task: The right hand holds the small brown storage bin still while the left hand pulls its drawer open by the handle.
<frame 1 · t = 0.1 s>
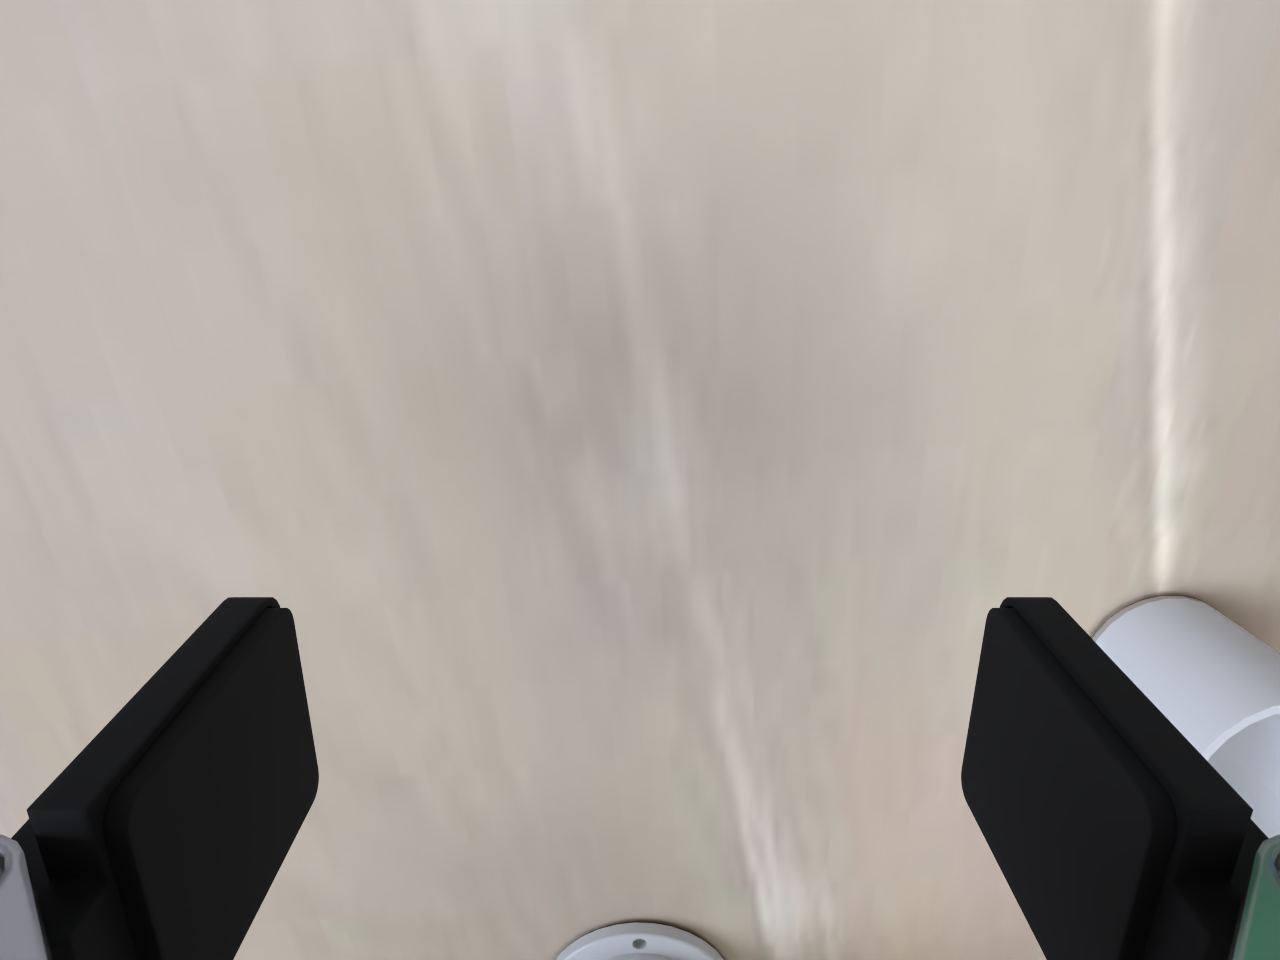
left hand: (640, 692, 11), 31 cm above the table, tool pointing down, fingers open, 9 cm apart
mug: (1138, 667, 48), on the table
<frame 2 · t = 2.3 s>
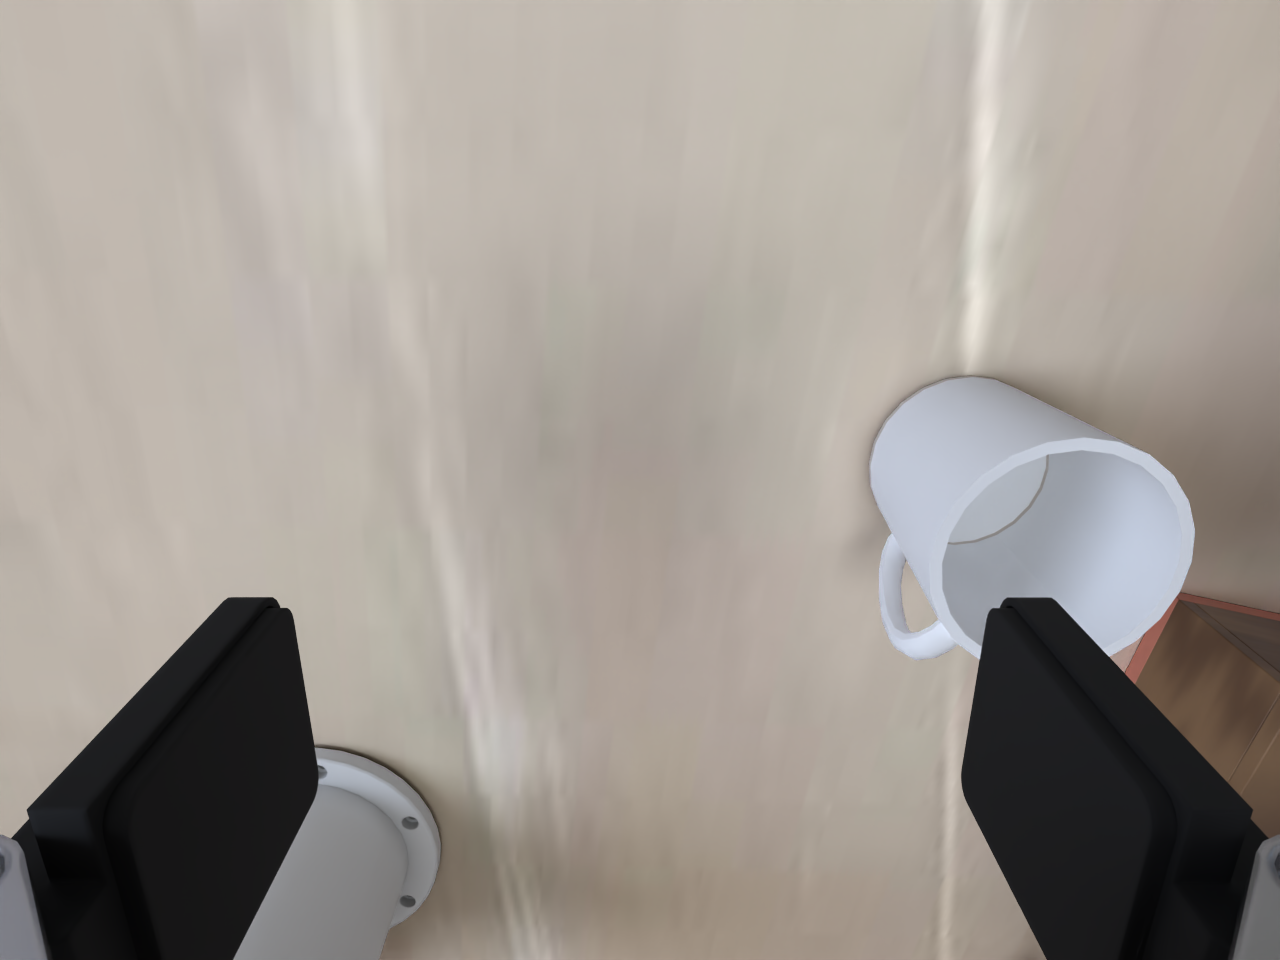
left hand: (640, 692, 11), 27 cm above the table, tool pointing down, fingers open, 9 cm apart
brown storage bin: (1190, 741, 44), on the table
mug: (936, 474, 39), on the table
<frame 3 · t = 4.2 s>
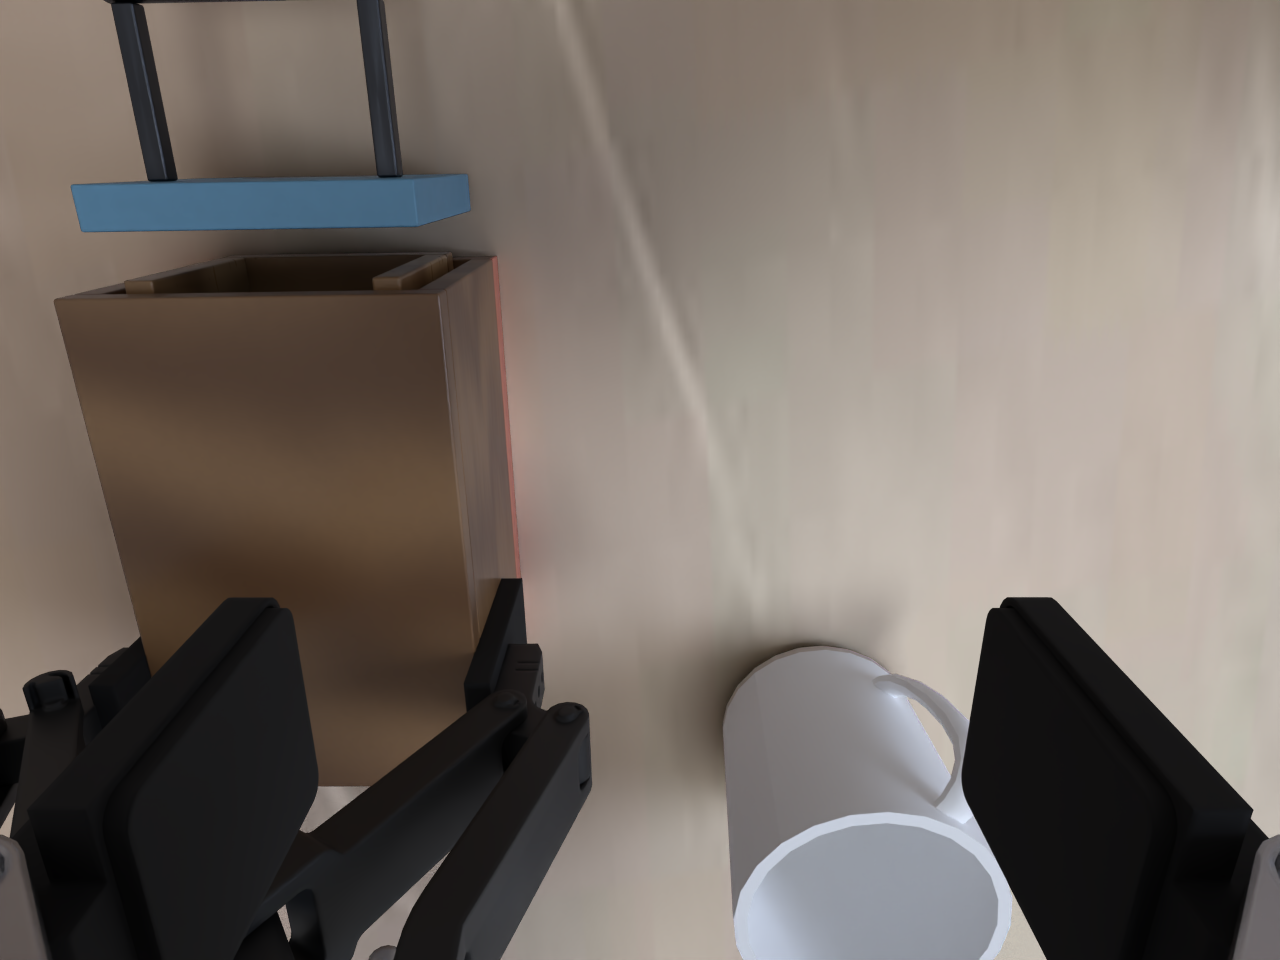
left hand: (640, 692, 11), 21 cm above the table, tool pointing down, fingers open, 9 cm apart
brown storage bin: (382, 467, 33), on the table, touching right hand
mug: (827, 702, 37), on the table
drawer: (316, 327, 27), point 4 cm above the table, slide at 1.6 cm
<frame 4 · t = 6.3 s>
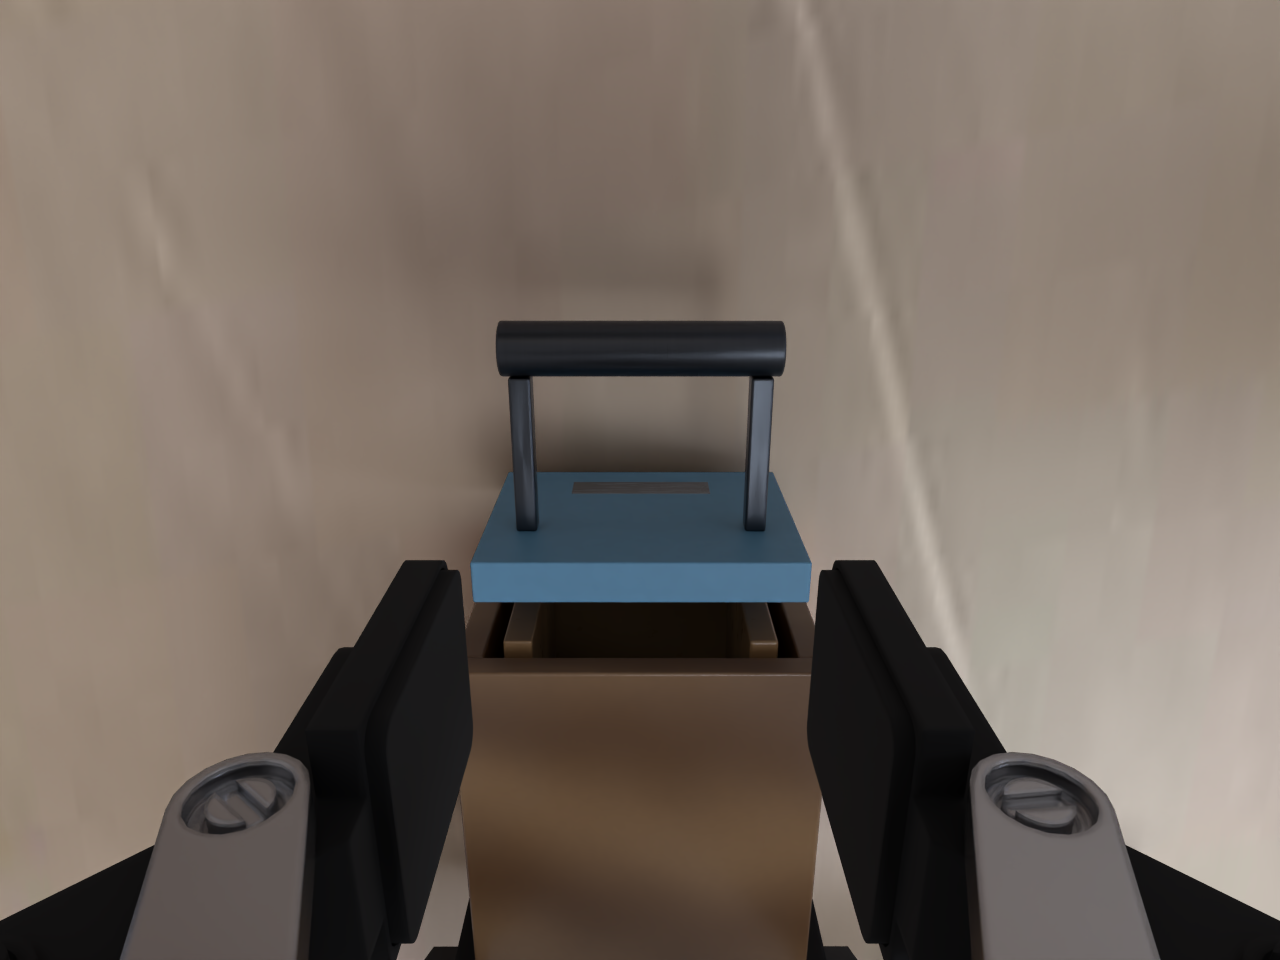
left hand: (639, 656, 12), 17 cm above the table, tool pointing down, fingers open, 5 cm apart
brown storage bin: (640, 719, 33), on the table, touching right hand
drawer: (640, 639, 27), point 4 cm above the table, slide at 1.6 cm
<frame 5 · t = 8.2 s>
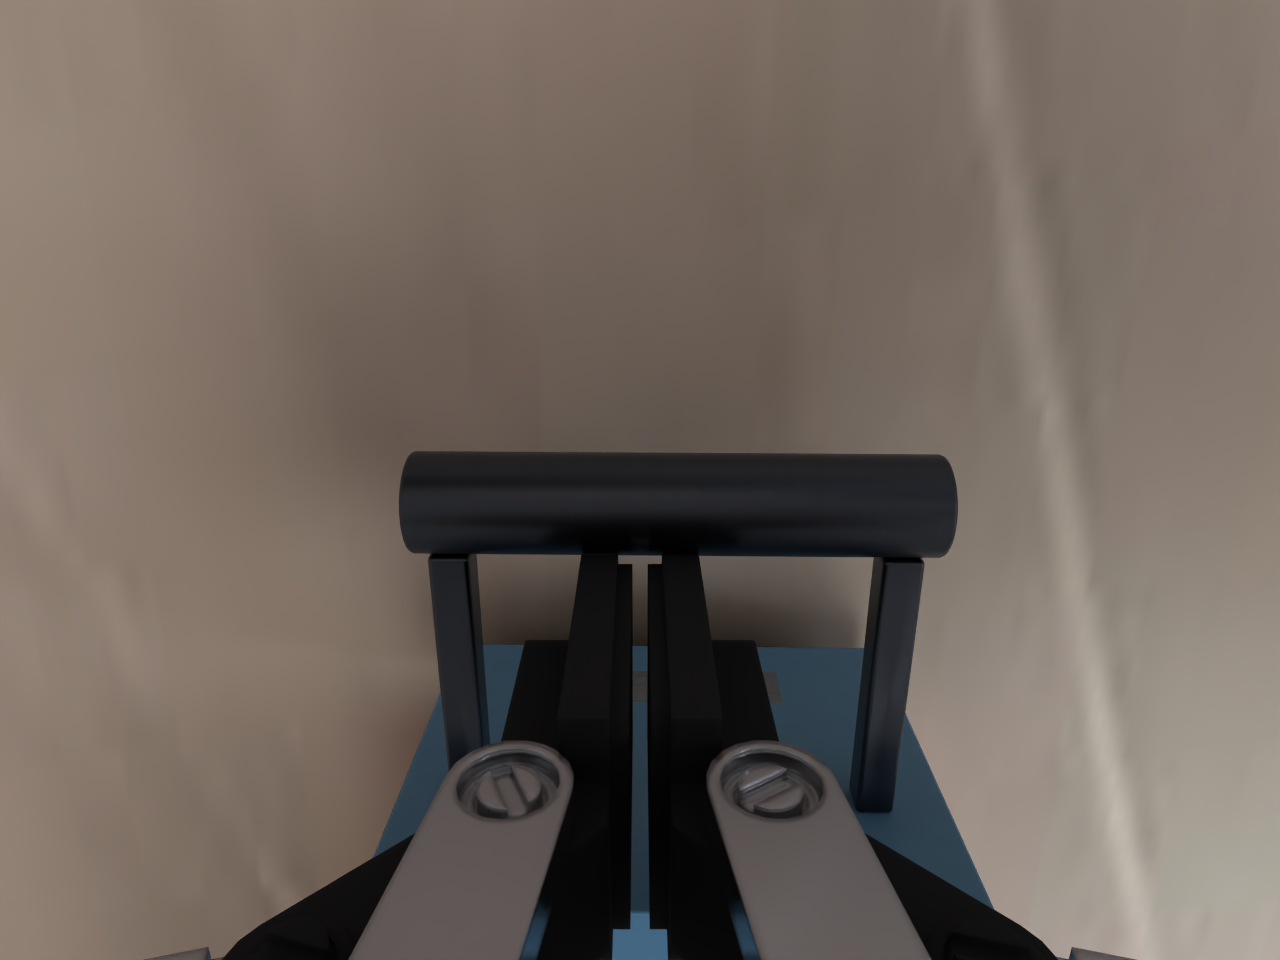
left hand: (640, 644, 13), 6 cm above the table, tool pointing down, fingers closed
drawer: (666, 937, 17), point 4 cm above the table, slide at 1.6 cm, touching left hand
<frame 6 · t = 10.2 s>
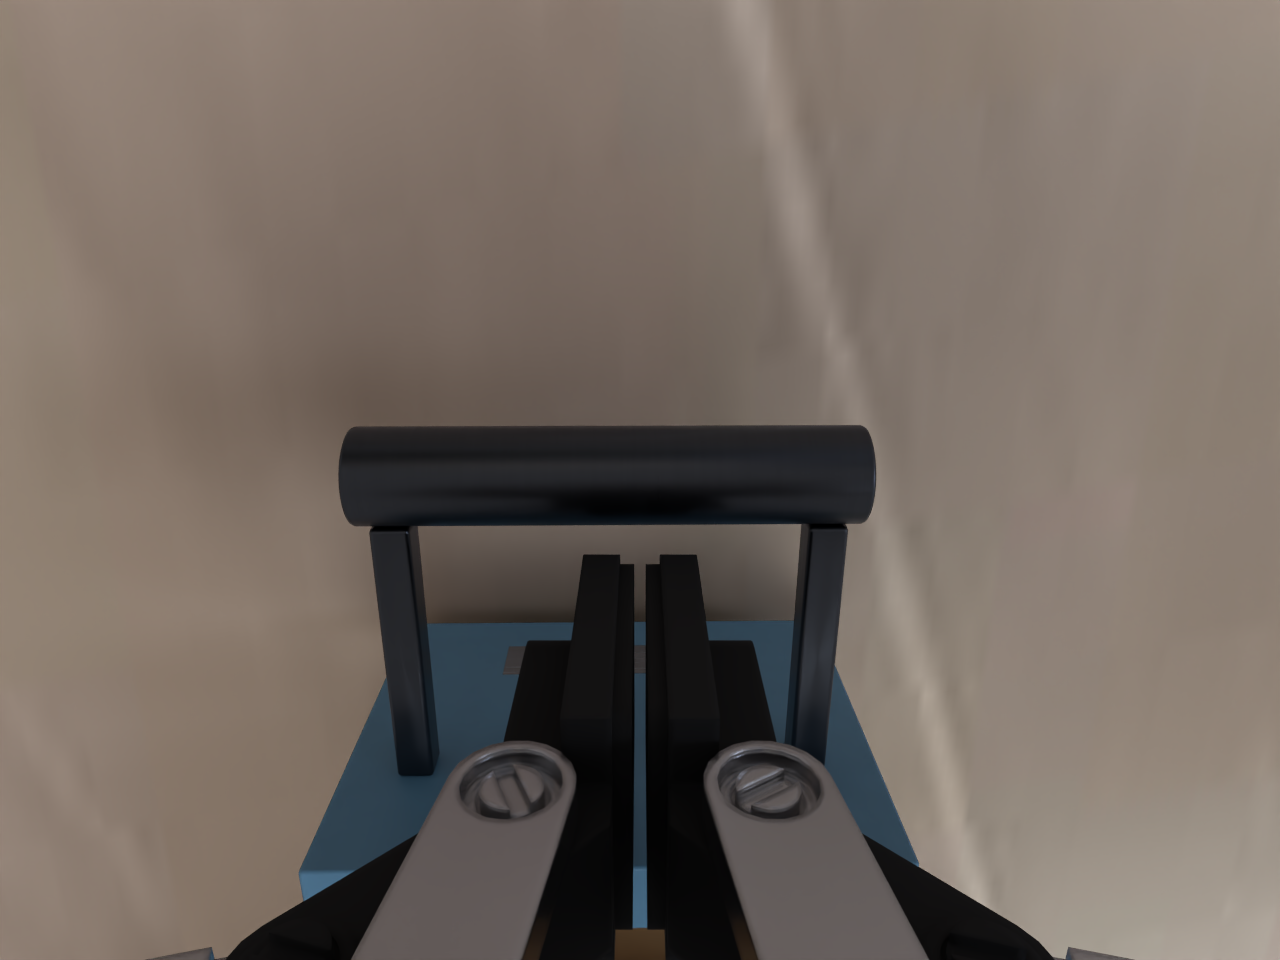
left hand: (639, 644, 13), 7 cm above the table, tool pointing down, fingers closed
drawer: (614, 902, 17), point 4 cm above the table, slide at 9.2 cm
when the right hand's fingers open (4 cm above the table, at t = 11.6 s): brown storage bin stays where it is, on the table.
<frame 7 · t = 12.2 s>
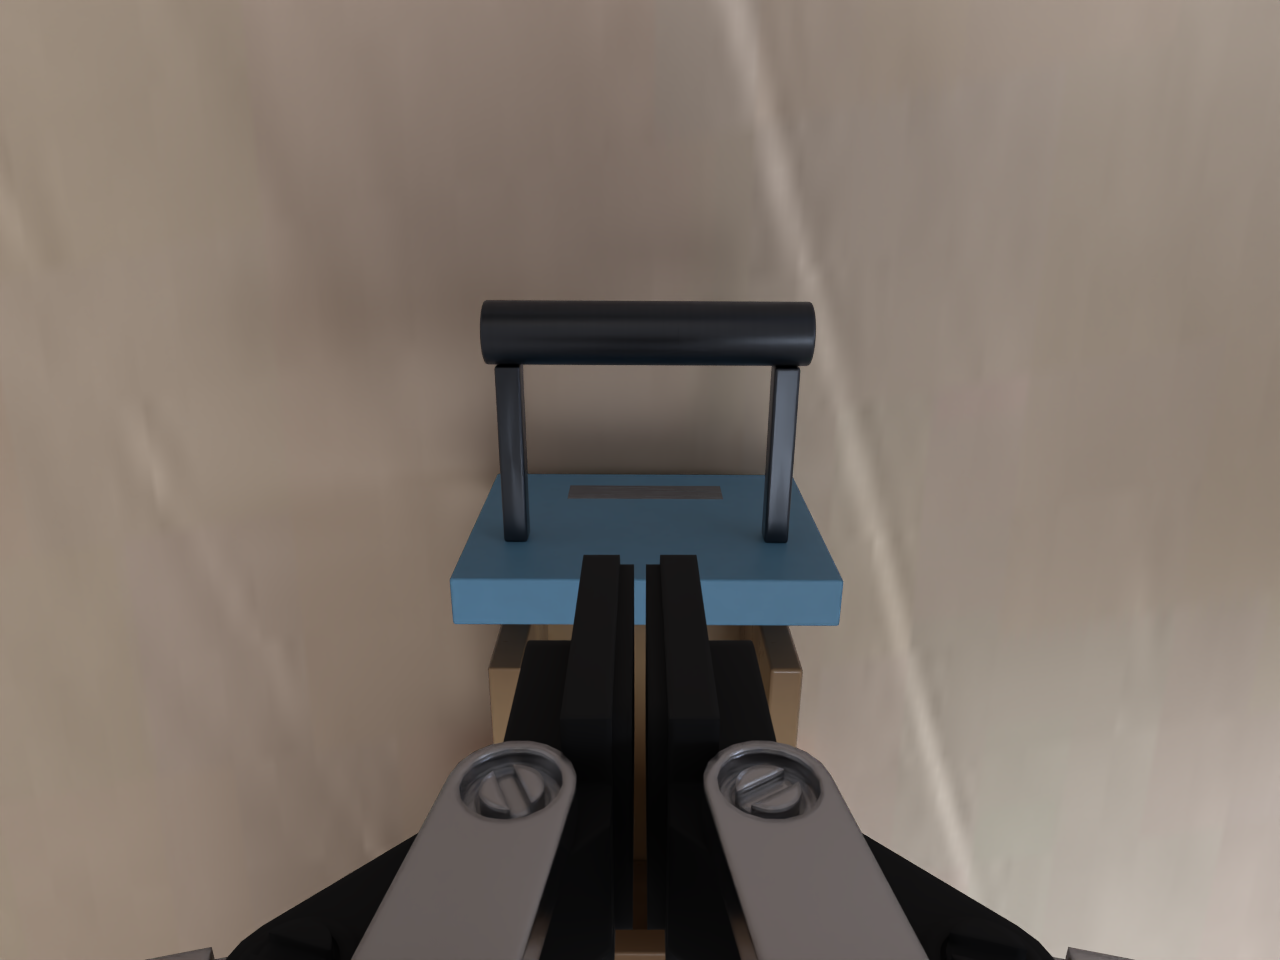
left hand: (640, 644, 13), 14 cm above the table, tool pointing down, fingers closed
brown storage bin: (641, 907, 33), on the table
drawer: (644, 662, 24), point 4 cm above the table, slide at 9.2 cm
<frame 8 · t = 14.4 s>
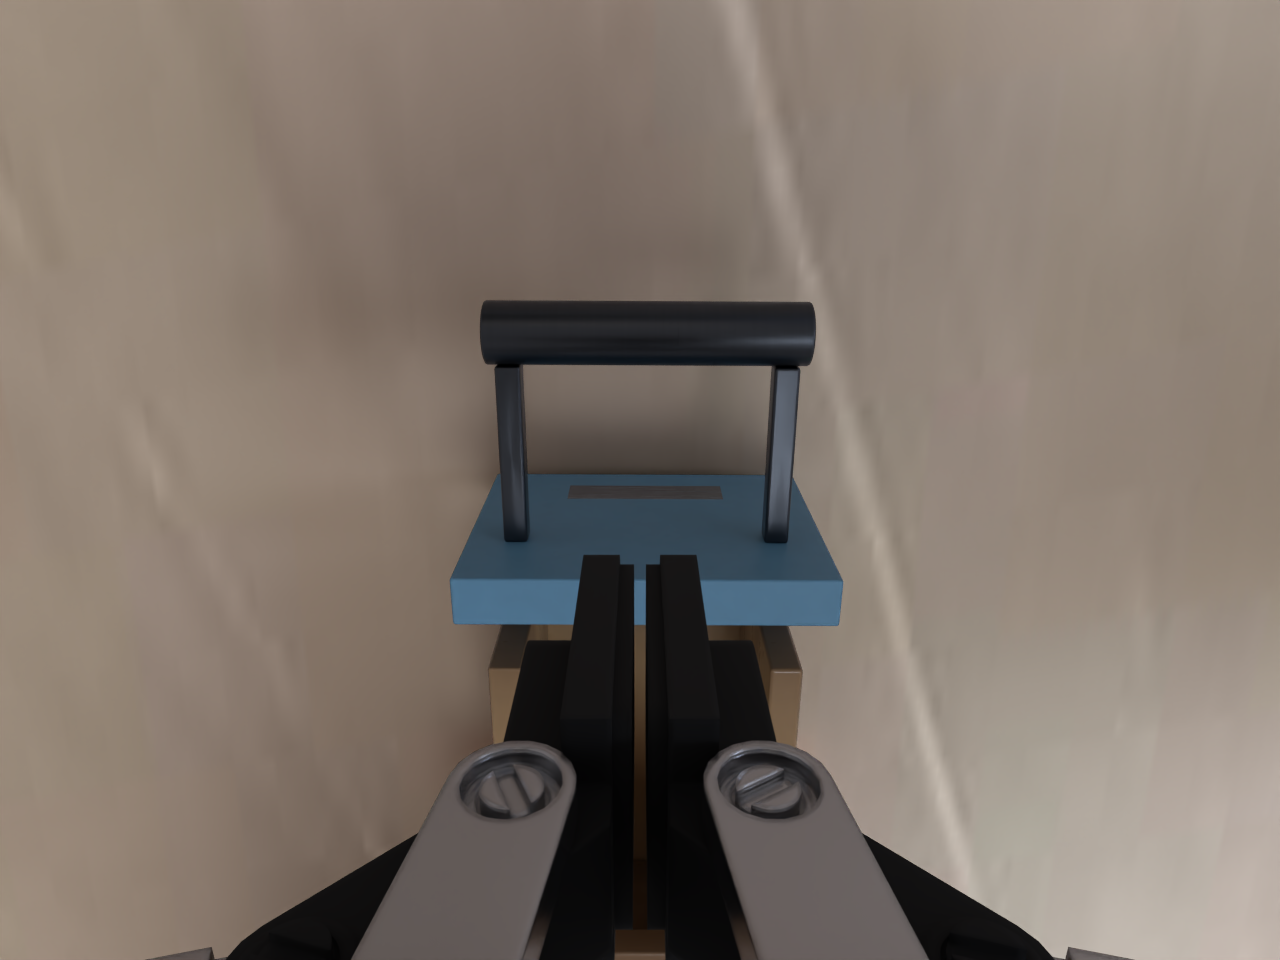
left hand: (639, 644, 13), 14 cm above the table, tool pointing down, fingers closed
brown storage bin: (641, 907, 33), on the table
drawer: (644, 662, 24), point 4 cm above the table, slide at 9.2 cm
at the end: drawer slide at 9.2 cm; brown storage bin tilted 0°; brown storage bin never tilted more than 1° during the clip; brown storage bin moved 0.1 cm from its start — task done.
